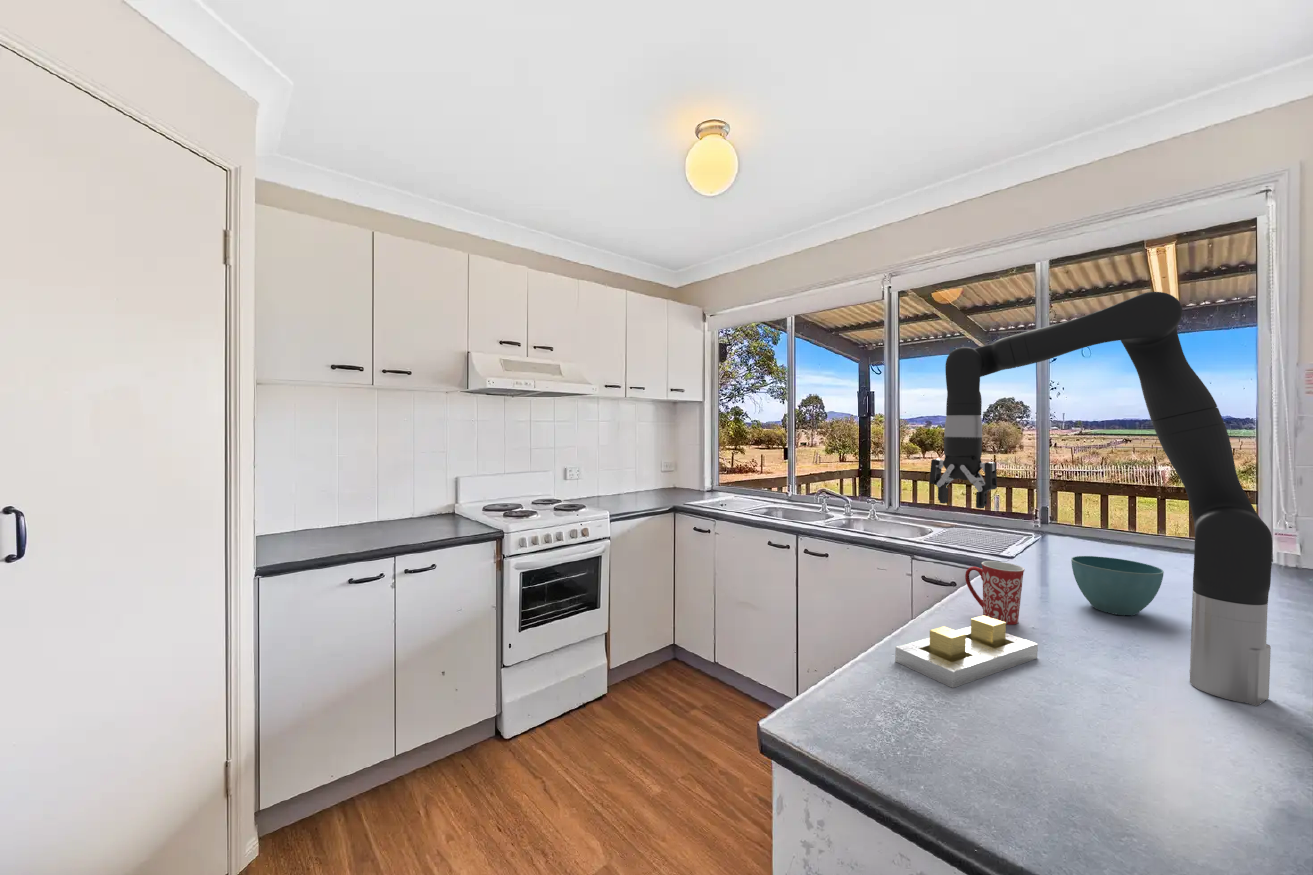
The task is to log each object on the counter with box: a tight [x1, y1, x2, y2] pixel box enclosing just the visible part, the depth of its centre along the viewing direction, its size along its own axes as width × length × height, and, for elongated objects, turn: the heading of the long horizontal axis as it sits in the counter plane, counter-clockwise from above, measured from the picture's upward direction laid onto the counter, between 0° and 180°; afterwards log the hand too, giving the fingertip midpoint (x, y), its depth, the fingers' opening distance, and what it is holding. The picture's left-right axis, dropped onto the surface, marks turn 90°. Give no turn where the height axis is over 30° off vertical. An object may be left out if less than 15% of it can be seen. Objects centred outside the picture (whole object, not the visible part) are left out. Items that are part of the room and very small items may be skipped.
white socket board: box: [894, 625, 1039, 689], centre depth 107 cm, size 28×12×3 cm, turn 118°
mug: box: [964, 560, 1026, 626], centre depth 132 cm, size 13×9×14 cm
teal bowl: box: [1070, 555, 1165, 616], centre depth 138 cm, size 18×18×12 cm
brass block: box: [929, 625, 966, 662], centre depth 104 cm, size 4×4×7 cm
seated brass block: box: [970, 615, 1007, 649], centre depth 111 cm, size 4×4×7 cm
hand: (961, 505), depth 122 cm, fingers open, 8 cm apart
